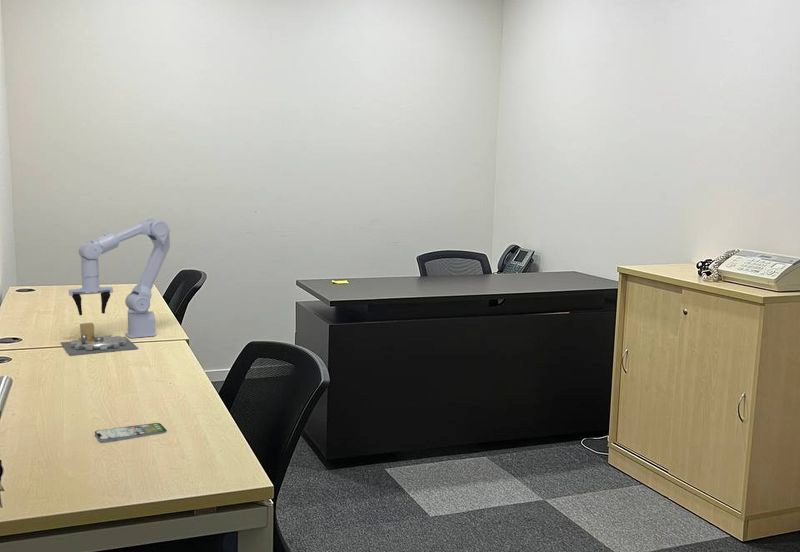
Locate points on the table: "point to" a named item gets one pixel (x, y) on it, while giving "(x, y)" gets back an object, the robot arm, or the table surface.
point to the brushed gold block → (87, 330)
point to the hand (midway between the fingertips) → (91, 314)
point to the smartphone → (129, 432)
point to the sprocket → (98, 342)
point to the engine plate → (73, 351)
